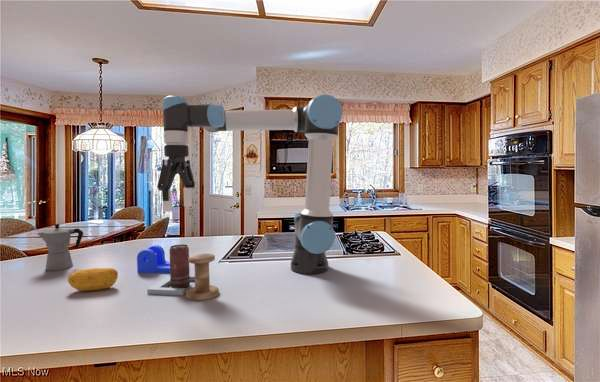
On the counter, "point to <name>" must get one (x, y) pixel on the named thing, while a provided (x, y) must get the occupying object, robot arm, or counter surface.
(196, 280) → the bobbin
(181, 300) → the counter surface
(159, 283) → the grey u-shaped frame
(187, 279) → the can
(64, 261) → the coffeepot
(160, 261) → the bracket
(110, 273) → the potato
